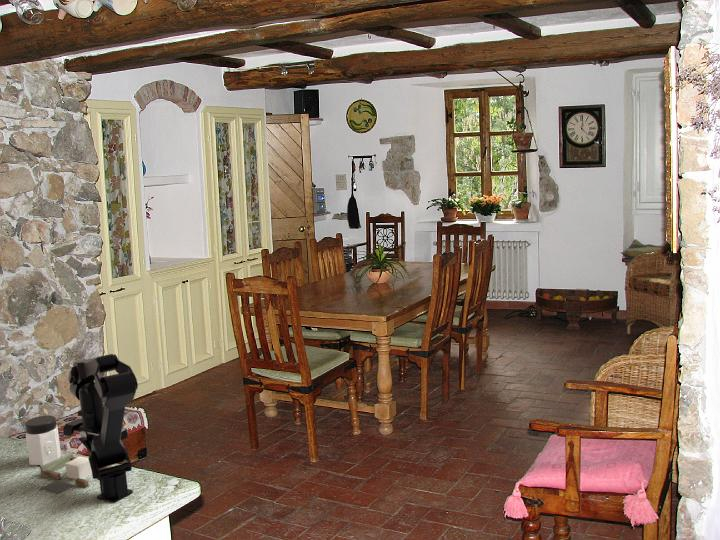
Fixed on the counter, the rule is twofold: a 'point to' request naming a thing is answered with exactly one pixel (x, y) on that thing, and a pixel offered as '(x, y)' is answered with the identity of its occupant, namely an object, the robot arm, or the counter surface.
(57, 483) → the mat
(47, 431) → the jar
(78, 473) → the block
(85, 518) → the counter surface
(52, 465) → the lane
